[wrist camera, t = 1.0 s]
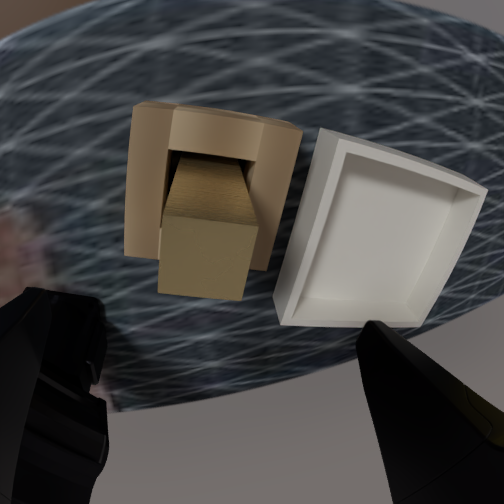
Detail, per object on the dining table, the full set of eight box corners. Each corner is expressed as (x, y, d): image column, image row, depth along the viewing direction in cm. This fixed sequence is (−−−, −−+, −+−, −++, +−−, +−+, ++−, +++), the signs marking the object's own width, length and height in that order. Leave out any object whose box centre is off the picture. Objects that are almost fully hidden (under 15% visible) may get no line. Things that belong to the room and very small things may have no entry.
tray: (272, 296, 23) (280, 325, 21) (320, 127, 17) (339, 138, 15) (404, 304, 26) (420, 326, 23) (462, 174, 20) (488, 189, 17)
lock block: (134, 230, 19) (124, 255, 17) (145, 100, 15) (133, 106, 13) (259, 244, 21) (266, 271, 18) (288, 122, 17) (302, 131, 15)
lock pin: (177, 197, 19) (157, 292, 11) (183, 148, 17) (162, 215, 10) (227, 203, 19) (241, 300, 12) (236, 155, 18) (259, 226, 10)
